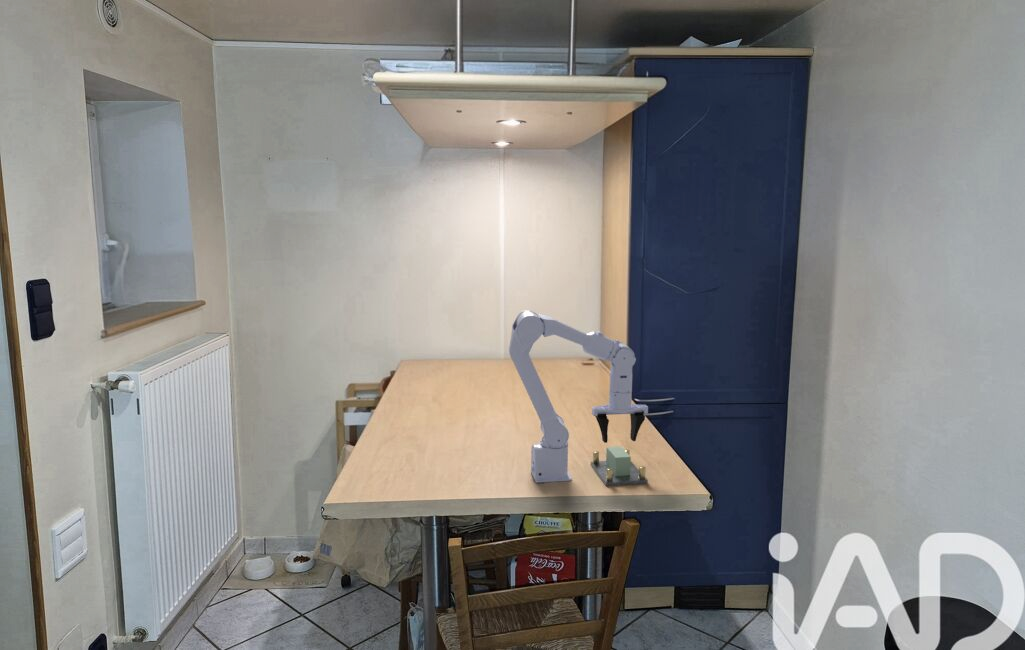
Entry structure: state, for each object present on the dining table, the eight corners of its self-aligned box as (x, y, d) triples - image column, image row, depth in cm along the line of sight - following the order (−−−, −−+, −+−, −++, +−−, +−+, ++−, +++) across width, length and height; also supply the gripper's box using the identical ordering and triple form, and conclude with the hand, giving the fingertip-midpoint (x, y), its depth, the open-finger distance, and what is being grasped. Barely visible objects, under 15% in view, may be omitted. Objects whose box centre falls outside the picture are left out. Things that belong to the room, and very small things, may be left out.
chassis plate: (605, 486, 176) (606, 471, 175) (590, 465, 190) (590, 451, 189) (647, 483, 177) (648, 468, 177) (629, 462, 192) (629, 449, 191)
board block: (615, 476, 180) (615, 457, 179) (606, 464, 187) (606, 447, 187) (630, 475, 180) (630, 456, 179) (620, 464, 188) (620, 446, 187)
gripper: (642, 385, 185) (640, 434, 187) (589, 387, 183) (588, 437, 185) (651, 392, 178) (649, 443, 180) (596, 394, 176) (595, 446, 178)
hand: (618, 440), depth 182 cm, fingers open, 7 cm apart
